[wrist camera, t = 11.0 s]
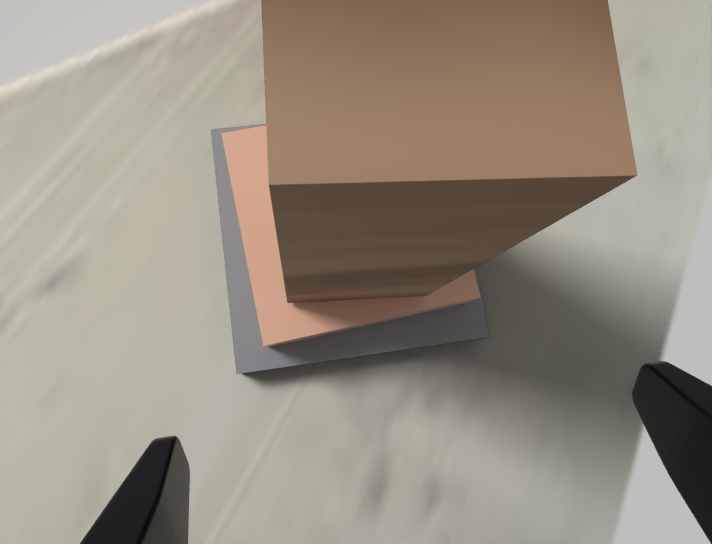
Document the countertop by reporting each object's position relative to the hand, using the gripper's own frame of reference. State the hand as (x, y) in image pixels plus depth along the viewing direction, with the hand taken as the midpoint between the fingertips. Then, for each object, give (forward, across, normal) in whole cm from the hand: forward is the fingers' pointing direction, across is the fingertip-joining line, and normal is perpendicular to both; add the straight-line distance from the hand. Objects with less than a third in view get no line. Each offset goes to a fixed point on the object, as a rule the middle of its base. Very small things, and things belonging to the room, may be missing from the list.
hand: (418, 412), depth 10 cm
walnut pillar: (+10, 0, +2) cm, 10 cm away
